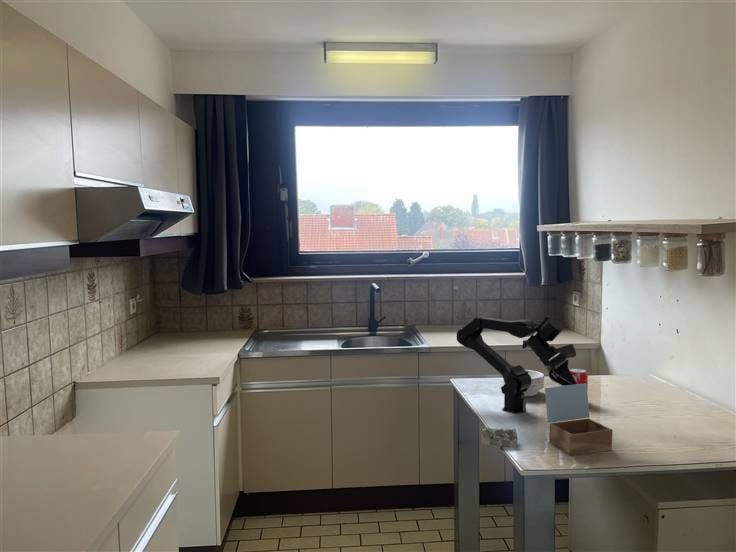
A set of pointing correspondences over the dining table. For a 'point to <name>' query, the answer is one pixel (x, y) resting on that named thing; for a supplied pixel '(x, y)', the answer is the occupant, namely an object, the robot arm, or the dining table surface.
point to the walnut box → (580, 436)
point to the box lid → (567, 402)
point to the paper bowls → (534, 383)
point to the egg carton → (499, 437)
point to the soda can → (579, 376)
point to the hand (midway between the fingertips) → (575, 387)
